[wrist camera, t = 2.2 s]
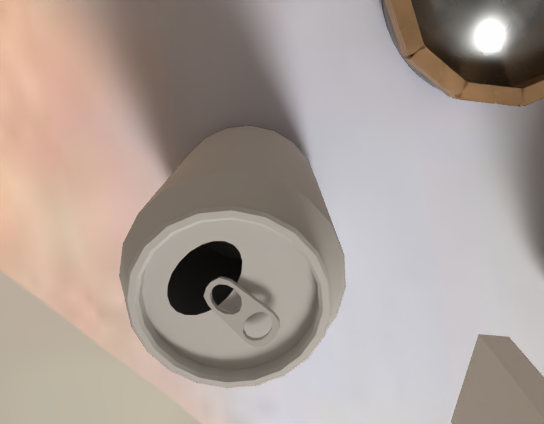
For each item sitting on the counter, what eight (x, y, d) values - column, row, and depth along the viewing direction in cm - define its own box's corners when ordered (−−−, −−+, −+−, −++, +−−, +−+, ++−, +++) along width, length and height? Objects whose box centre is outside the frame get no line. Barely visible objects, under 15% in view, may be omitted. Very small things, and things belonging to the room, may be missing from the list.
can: (236, 92, 22) (201, 128, 11) (344, 182, 24) (409, 293, 13) (153, 200, 24) (51, 324, 13) (258, 276, 26) (249, 446, 15)
